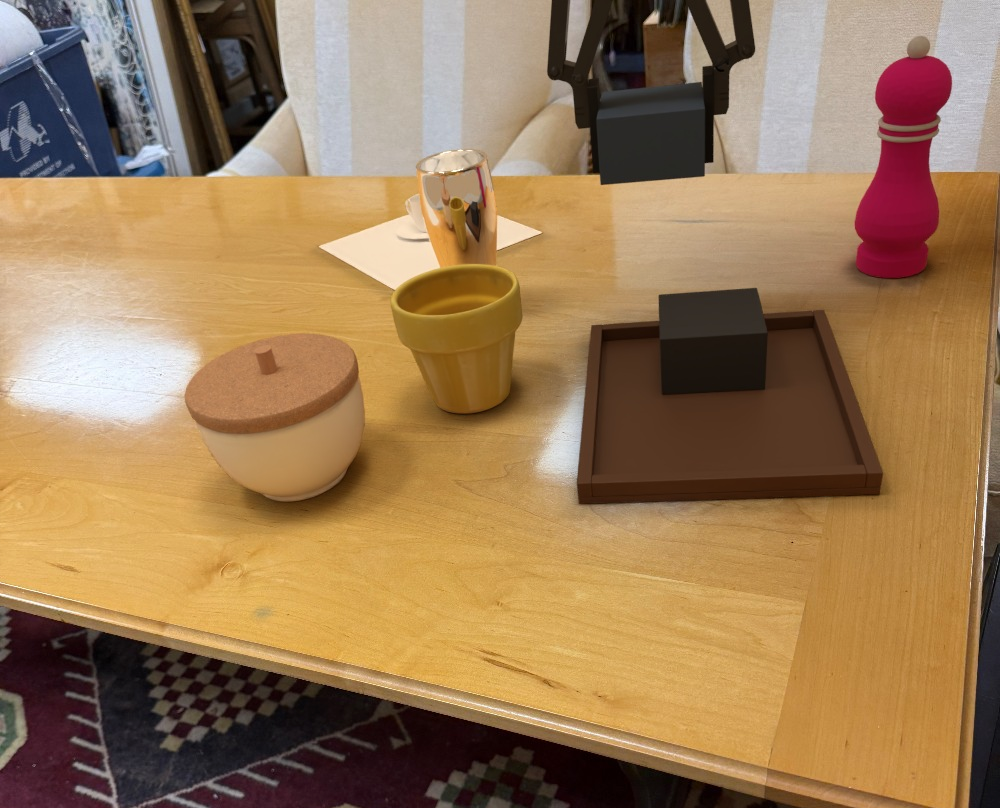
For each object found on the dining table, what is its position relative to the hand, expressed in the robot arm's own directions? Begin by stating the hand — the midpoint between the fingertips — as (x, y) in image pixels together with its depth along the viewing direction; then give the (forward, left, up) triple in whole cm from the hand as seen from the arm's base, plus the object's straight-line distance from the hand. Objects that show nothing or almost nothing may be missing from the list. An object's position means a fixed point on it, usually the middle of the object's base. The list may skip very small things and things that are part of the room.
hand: (652, 162), depth 73 cm
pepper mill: (-22, -11, -15) cm, 29 cm away
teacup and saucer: (+27, -28, -15) cm, 42 cm away
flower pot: (+16, +9, -15) cm, 24 cm away
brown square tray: (-4, +13, -15) cm, 21 cm away
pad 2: (-4, +8, -15) cm, 17 cm away
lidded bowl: (+28, +20, -15) cm, 38 cm away
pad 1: (0, 0, 0) cm, 0 cm away
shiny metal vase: (+18, -7, -15) cm, 25 cm away
